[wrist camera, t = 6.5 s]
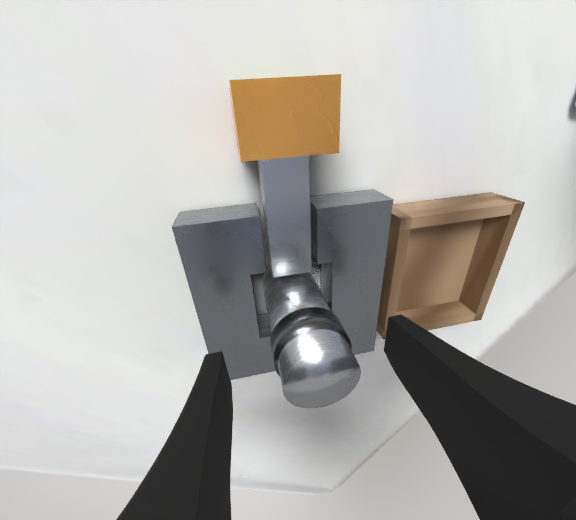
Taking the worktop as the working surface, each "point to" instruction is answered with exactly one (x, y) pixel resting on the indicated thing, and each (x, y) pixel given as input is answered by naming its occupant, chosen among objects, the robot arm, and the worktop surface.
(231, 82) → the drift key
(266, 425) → the worktop surface
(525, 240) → the worktop surface
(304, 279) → the silver metal canister
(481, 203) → the square wooden tray
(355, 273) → the socket
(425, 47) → the worktop surface
